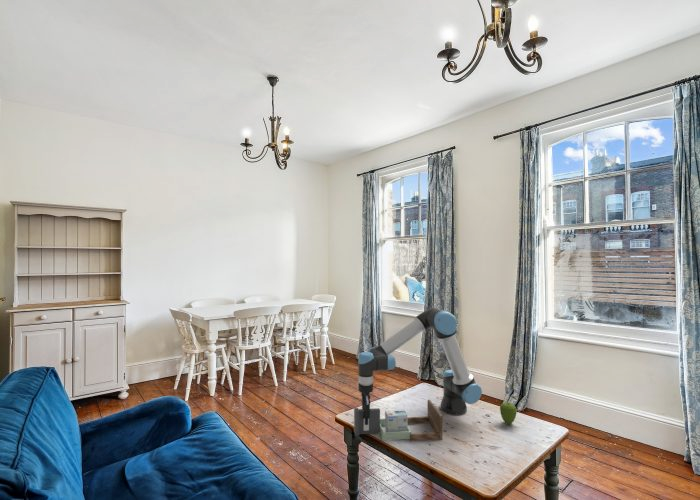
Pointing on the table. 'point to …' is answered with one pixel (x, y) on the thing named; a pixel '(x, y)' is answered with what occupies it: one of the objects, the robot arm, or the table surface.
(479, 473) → the table surface
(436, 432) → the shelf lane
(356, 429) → the pull cradle
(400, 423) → the light bulb box
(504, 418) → the green rounded lump
